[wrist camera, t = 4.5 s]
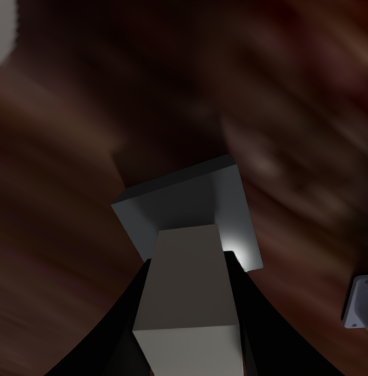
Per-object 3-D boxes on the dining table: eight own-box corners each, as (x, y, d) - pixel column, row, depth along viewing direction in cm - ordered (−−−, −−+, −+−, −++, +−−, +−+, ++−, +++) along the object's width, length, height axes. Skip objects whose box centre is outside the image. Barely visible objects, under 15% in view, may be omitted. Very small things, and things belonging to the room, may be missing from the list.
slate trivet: (228, 153, 14) (236, 164, 11) (251, 242, 17) (263, 267, 14) (125, 188, 15) (110, 204, 12) (165, 263, 18) (160, 289, 16)
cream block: (217, 223, 12) (239, 324, 6) (222, 267, 13) (243, 377, 8) (159, 230, 12) (132, 330, 7) (171, 271, 14) (157, 379, 8)
